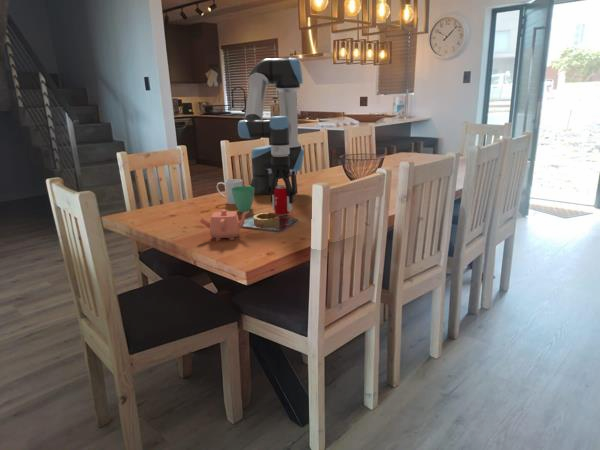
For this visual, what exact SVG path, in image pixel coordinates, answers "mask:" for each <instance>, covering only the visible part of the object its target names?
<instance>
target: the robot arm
mask: <svg viewBox="0 0 600 450" xmlns="http://www.w3.org/2000/svg"><path fill="white" fill-rule="evenodd" d="M303 83H304V79H303V71H302V66H301V61H300V59H298V58H297V57H277V58H275V57H274V58H268V57H267V58H263V59H262V60H260V61H259V62H257V63H256V64H255V65H254V66H253V67H252V68H251V70H250V72H249V75H248V79H247V84H248V86H249V87H248V91H247V92H248V94H247V101H246V107H245V113H244V119H242V120H241V119H240V120H239V121H238V123H237V133H238V136H239V137H240V138H241V139H264V138H265V139H270V145H262V146H258V147H255V148H252V150H251V157H250V159H251V171H252V172H251V173H252V175H251V176H252V178H251V182H250V185H249V186H251V187H254V189H255V190H254V195H258V196H259V195H265V196H266V195H270V202H272V211H275V201H274V189H275V186H279V184H278V183H279V179H282V180H283V182H284V185H286V188H287V192H288V196H287V211H288V212H289V211H292V209H293V208H292V206H293V205H292V204H293V203H294V196H295V195H297V194H298V181H297V173H298V172H300V171H302V169H303V164H304V163H303V162H304V153H305V148H303V147H302V143H300V142H299V132H298V131H299V129H298V128H299V125H298V122H299V121H298V91H299V89H300V88H301V85H302V84H303ZM269 85H275V89H276V90H277V91H278V99H279V101H278V102H279V103H278V104H279V115H274V116H270V118H269V119H263V117H264V108H265V107H264V106H265V98H266V91H267V88H268V86H269ZM289 174H290V176H289Z"/></svg>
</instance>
